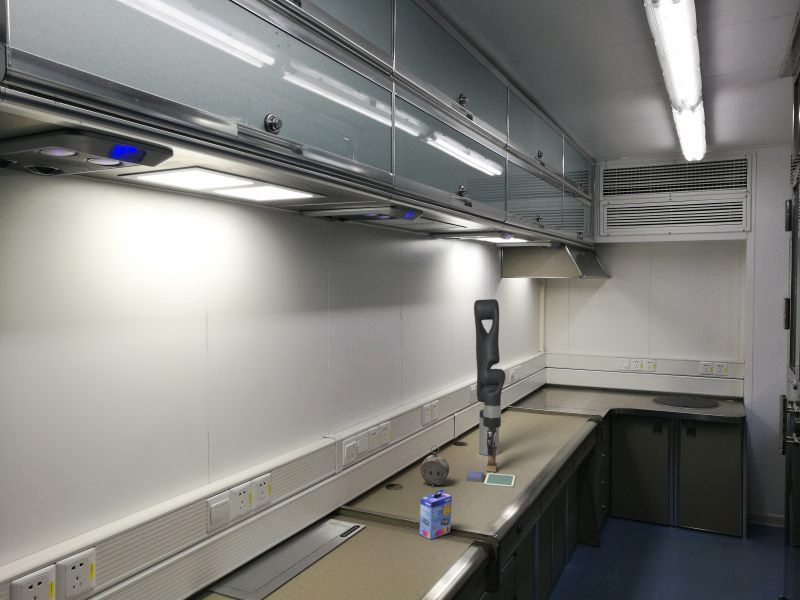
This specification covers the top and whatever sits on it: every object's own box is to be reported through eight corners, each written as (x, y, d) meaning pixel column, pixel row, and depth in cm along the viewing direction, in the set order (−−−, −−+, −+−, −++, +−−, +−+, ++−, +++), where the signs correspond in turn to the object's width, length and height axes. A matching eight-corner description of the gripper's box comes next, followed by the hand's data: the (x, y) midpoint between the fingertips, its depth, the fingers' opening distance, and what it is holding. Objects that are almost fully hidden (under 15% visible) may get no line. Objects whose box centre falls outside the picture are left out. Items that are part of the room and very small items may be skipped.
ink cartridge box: (431, 540, 198) (431, 494, 198) (418, 535, 202) (419, 490, 202) (451, 532, 205) (452, 487, 205) (439, 527, 209) (439, 483, 209)
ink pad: (468, 474, 266) (468, 470, 266) (484, 475, 264) (484, 471, 264) (466, 480, 258) (466, 476, 258) (482, 482, 256) (482, 477, 256)
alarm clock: (449, 485, 252) (449, 444, 251) (446, 489, 246) (447, 448, 246) (422, 482, 255) (422, 442, 254) (419, 486, 249) (419, 446, 249)
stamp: (487, 468, 275) (487, 444, 275) (497, 469, 274) (497, 445, 274) (485, 472, 270) (486, 448, 269) (496, 473, 269) (496, 448, 268)
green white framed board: (487, 473, 267) (487, 472, 267) (515, 476, 264) (515, 475, 264) (483, 484, 253) (483, 483, 253) (513, 487, 250) (513, 486, 250)
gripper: (485, 411, 279) (484, 448, 279) (481, 417, 265) (480, 456, 265) (502, 412, 277) (501, 449, 277) (499, 419, 263) (498, 457, 264)
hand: (491, 452), depth 271 cm, fingers open, 8 cm apart
